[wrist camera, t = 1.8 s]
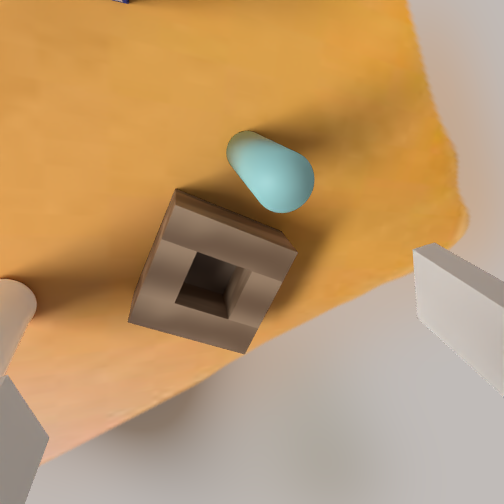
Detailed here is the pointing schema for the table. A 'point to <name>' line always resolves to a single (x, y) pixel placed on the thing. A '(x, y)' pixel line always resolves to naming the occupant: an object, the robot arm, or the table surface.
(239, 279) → the bore block
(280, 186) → the dowel
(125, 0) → the milk carton
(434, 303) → the robot arm
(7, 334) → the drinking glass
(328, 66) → the table surface
